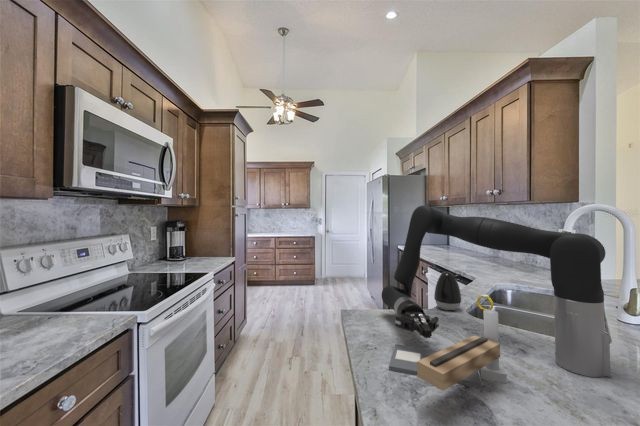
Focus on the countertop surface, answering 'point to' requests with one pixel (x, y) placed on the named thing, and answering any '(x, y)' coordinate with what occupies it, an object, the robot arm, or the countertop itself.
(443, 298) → the black egg-shaped device
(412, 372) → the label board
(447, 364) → the brown long rectangular block
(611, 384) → the countertop surface
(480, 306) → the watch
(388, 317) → the countertop surface
